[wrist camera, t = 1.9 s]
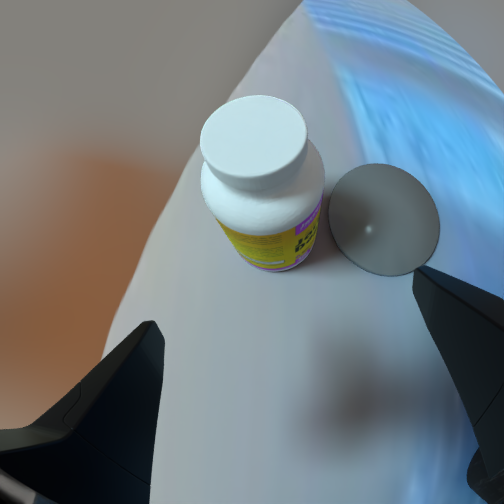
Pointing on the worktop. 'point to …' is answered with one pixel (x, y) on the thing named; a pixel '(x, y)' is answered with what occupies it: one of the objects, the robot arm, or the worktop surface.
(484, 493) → the travel mug
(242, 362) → the worktop surface
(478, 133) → the worktop surface
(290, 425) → the worktop surface
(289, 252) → the supplement bottle
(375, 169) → the slate coaster
